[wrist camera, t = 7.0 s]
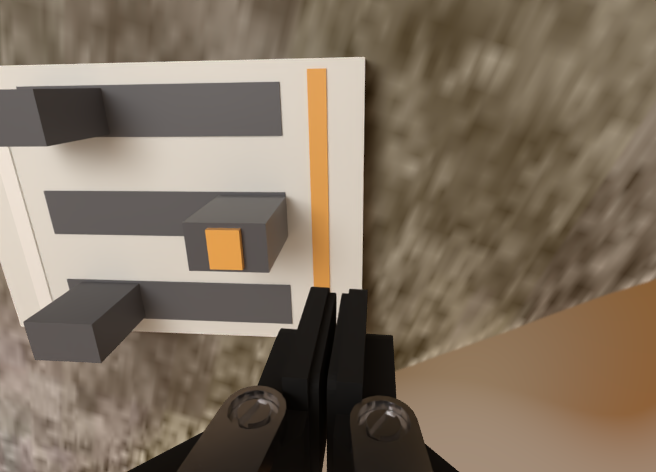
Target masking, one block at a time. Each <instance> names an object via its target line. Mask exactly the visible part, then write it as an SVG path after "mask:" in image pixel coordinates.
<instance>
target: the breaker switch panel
mask: <svg viewBox="0 0 656 472" xmlns="http://www.w3.org/2000/svg"><path fill="white" fill-rule="evenodd" d="M364 116H365V57H345V58H304V59H262V60H221V61H179V62H138V63H96V64H55V65H13V66H0V262H1V265H2V268H3V271H4V274H5V278H6V281H7V284H8V287H9V290H10V293H11V296H12V299H13V303H14V306H15V309H16V312H17V315H18V318H19V321H20V324H21V327H25V330H26V333H27V336H28V339H29V342H30V345H31V349H32V352H33V355H34V358H35V360H49V361H70V362H91V363H102V362H103V361H104V360H105V359H106V357H107V356H108V355H109V354H110V353H111V352H112V351H113V350H114V349H115V348H116V347H117V346H118V345H119V344H120V343H121V342H122V341H123V340H124V339H125V338H126V337H127V336H128V335H129V333H130V332H131V331H141V332H166V333H192V334H217V335H242V336H267V337H277V335H278V332H279V330H280V329H281V328H286V329H297V328H298V325H299V322H300V319H301V316H302V313H303V310H304V306H305V303H306V300H307V297H308V294H309V291H310V288H311V287H328V288H330V292H331V293H336V295H337V309H336V324H337V318H338V312H339V307H340V301H341V295H342V293H349V289H362V264H363V190H364ZM218 195H220V196H286V205H287V224H288V238H287V240H286V242H285V244H284V246H283V248H282V249H281V251H280V253H279V255H278V257H277V259H276V261H275V263H274V265H273V267H272V268H271V270H270V272H269V273H256V272H216V271H189V267H188V260H187V253H186V246H185V240H184V233H183V226H182V222H183V221H185V220H186V219H187V218H189V217H190V216H191V215H193V214H194V213H195V212H197V211H198V210H199V209H201V208H202V207H204V206H205V205H206V204H208V203H209V202H210V201H212V200H213V199H214V198H216V197H217V196H218Z"/></svg>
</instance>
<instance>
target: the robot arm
mask: <svg viewBox="0 0 656 472" xmlns="http://www.w3.org/2000/svg"><path fill="white" fill-rule="evenodd" d="M367 293H368V290H365V289H349V293H342V295H341V301H340V307H339V312H338V318H337V324H336V309H337V295H336V293H331V292H330V288H328V287H311V288H310V291H309V294H308V297H307V300H306V303H305V306H304V310H303V313H302V316H301V319H300V322H299V325H298V328H297V329H286V328H281V329H280V330H279V332H278V335H277V337H276V340H275V342H274V345H273V347H272V350H271V353H270V355H269V358H268V360H267V363H266V365H265V368H264V370H263V373H262V375H261V378H260V381H259V383H258V386H251V387H246V388H243V389H241V390H238V391H237V392H235V393H233V394H232V395H230V396H229V397H228V399H227V400H226V401H225V402H224V403H223V405H222V406H221V407H220V409H219V410H218V412H217V413H216V415H215V416H214V418H213V419H212V421H211V422H210V424H209V425H208V426H207V428H206V429H205V431H204V432H202V433H200V434H198V435H196V436H194V437H193V438H191V439H189V440H187V441H185V442H183V443H181V444H179V445H177V446H175V447H173V448H172V449H170V450H168V451H166V452H164V453H162V454H160V455H158V456H156V457H154V458H152V459H151V460H149V461H147V462H145V463H143V464H141V465H139V466H137V467H135V468H133V469H131V470H130V471H128V472H322V468H323V461H324V454H325V447H326V440H327V472H459V471H457V470H456V469H455V468H454V467H452V466H451V465H450V464H449V463H448V462H446V461H445V460H444V459H443V458H442V457H440V456H439V455H438V454H437V453H435V452H434V451H433V450H432V449H431V448H429V447H428V446H427V445H426V444H425V443H424V440H423V437H422V433H421V430H420V427H419V424H418V420H417V418H416V416H415V414H414V412H413V410H411V408H410V407H408V405H406V404H405V403H403V402H401V401H400V400H398V399H396V384H395V366H394V348H393V336H392V335H377V334H366V319H367Z"/></svg>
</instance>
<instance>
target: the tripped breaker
mask: <svg viewBox="0 0 656 472" xmlns="http://www.w3.org/2000/svg"><path fill="white" fill-rule="evenodd" d="M182 226H183V233H184V240H185V246H186V253H187V260H188V267H189V271H216V272H256V273H269V272H270V270H271V268H272V267H273V265H274V263H275V261H276V259H277V257H278V255H279V253H280V251H281V249H282V248H283V246H284V244H285V242H286V240H287V238H288V224H287V205H286V196H220V195H218V196H217V197H216V198H214V199H213V200H212V201H210V202H209V203H208V204H206V205H205V206H204V207H202V208H201V209H199V210H198V211H197V212H195V213H194V214H193V215H191V216H190V217H189V218H187V219H186V220H185V221H183V222H182Z"/></svg>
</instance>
